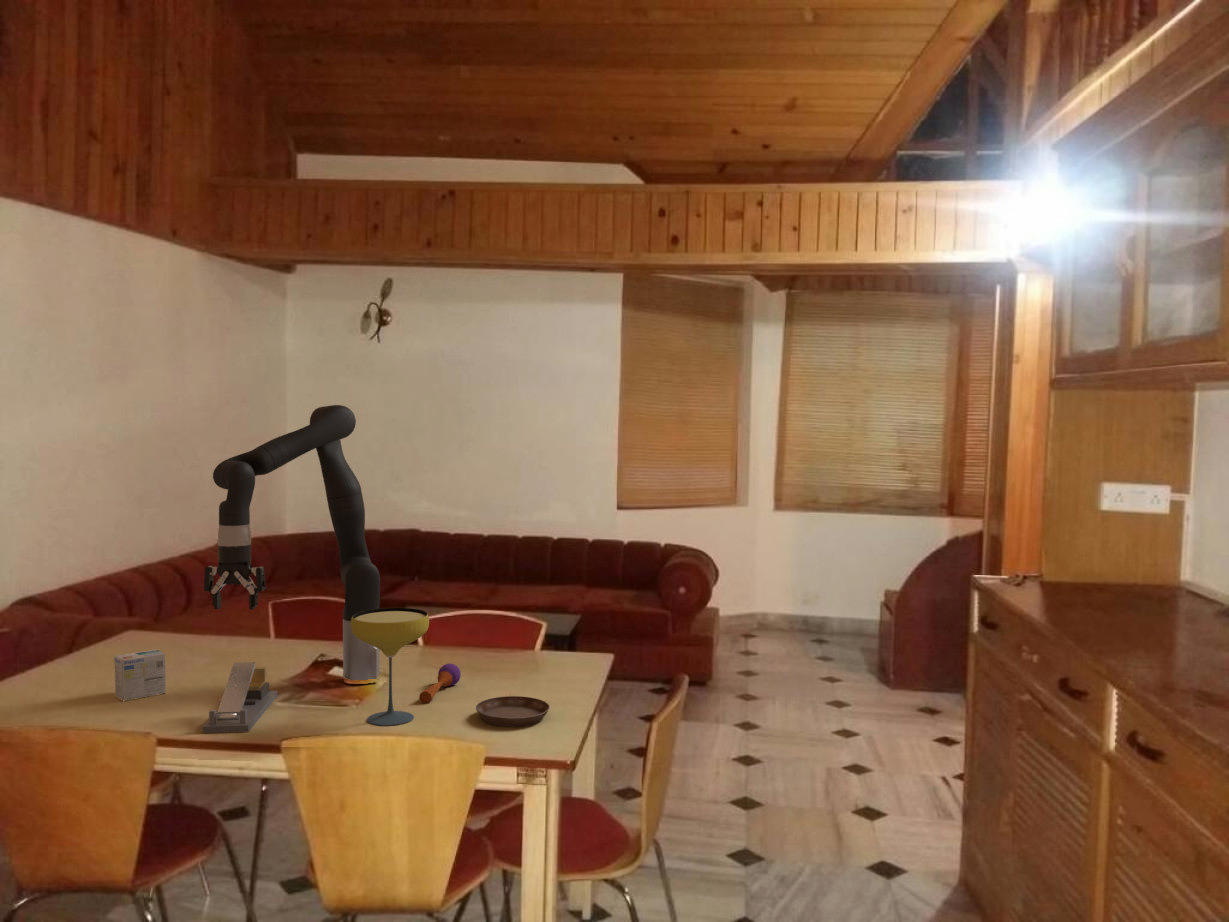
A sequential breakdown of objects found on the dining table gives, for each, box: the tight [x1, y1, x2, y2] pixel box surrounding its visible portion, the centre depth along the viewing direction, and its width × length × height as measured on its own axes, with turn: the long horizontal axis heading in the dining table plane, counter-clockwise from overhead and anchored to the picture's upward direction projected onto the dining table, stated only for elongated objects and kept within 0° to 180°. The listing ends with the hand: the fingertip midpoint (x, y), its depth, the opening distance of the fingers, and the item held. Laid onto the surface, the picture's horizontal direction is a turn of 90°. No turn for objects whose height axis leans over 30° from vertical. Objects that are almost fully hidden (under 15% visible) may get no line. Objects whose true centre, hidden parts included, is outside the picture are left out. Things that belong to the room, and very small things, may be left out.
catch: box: [248, 666, 267, 691], centre depth 244 cm, size 7×5×4 cm
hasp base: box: [202, 681, 278, 734], centre depth 234 cm, size 28×10×4 cm, turn 6°
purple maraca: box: [418, 663, 461, 704], centre depth 254 cm, size 6×6×20 cm
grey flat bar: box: [216, 661, 257, 721], centre depth 229 cm, size 18×5×2 cm
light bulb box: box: [114, 648, 167, 701], centre depth 249 cm, size 11×7×11 cm, turn 135°
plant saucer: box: [475, 695, 550, 728], centre depth 234 cm, size 18×18×3 cm
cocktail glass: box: [351, 607, 430, 727], centre depth 231 cm, size 18×18×25 cm
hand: (235, 608), depth 237 cm, fingers open, 8 cm apart
